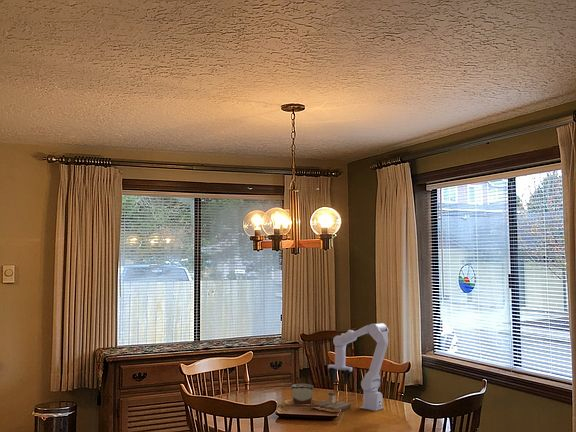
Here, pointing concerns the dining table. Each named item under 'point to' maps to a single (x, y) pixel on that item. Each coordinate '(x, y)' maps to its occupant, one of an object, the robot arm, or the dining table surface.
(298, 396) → the food container
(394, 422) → the dining table surface
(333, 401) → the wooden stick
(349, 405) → the holder block
